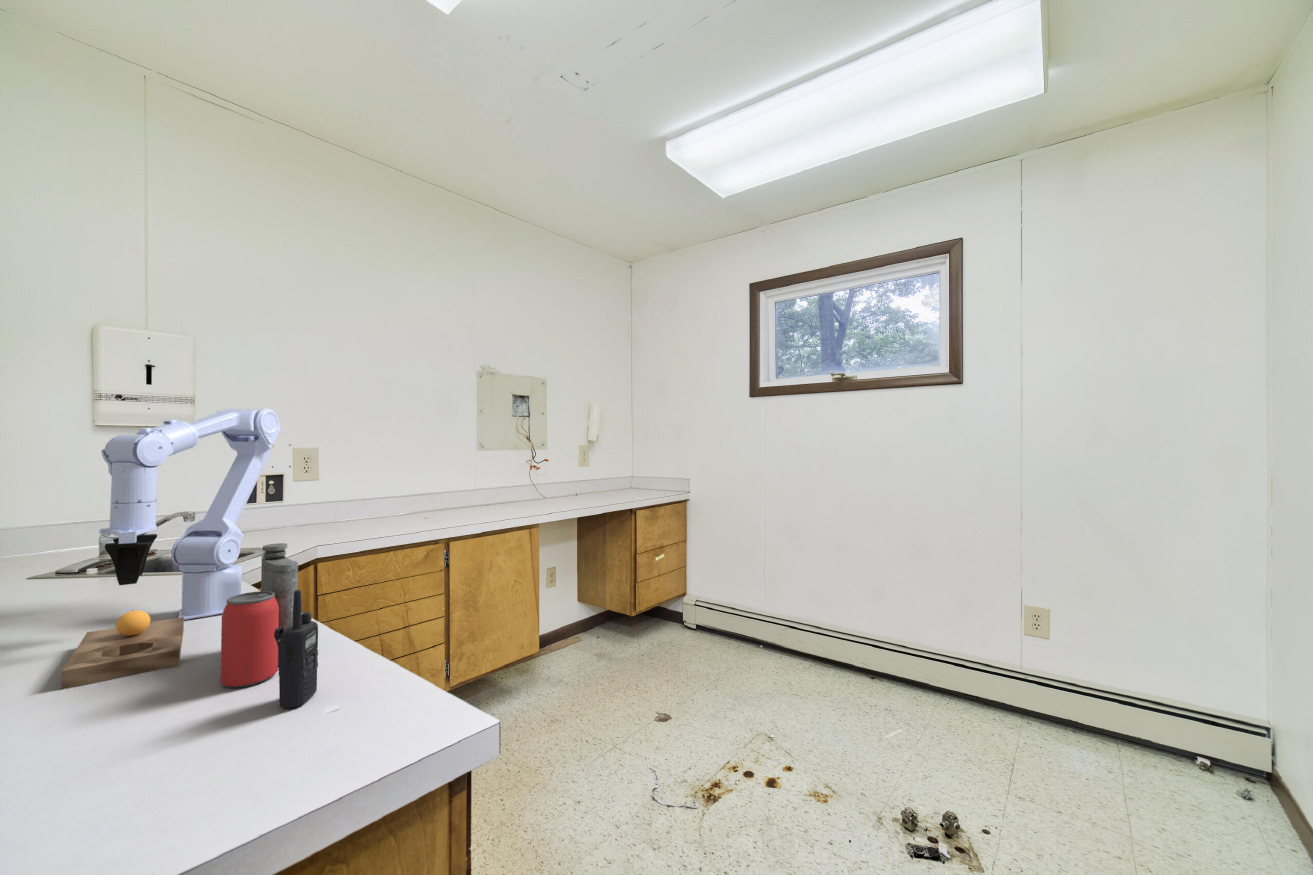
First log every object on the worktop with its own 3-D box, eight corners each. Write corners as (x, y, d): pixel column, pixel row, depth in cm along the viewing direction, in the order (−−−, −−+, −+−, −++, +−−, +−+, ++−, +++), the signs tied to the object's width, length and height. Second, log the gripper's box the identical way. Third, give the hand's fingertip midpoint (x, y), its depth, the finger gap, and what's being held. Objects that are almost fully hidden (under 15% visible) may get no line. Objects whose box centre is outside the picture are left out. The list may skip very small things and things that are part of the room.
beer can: (287, 674, 77) (289, 593, 77) (236, 693, 71) (238, 605, 71) (261, 666, 79) (263, 587, 80) (210, 684, 73) (211, 599, 74)
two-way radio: (300, 710, 66) (302, 592, 67) (262, 712, 66) (264, 594, 66) (321, 690, 72) (323, 581, 72) (286, 692, 71) (288, 582, 71)
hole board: (183, 630, 95) (183, 616, 95) (178, 665, 80) (179, 649, 80) (86, 646, 87) (87, 632, 87) (61, 689, 72) (61, 671, 72)
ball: (151, 629, 88) (151, 605, 88) (149, 635, 85) (149, 611, 85) (117, 634, 86) (118, 610, 86) (114, 641, 83) (114, 616, 83)
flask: (269, 672, 77) (271, 551, 78) (253, 646, 87) (255, 539, 88) (298, 665, 80) (300, 548, 80) (280, 640, 90) (281, 537, 90)
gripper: (107, 500, 94) (104, 575, 93) (93, 506, 83) (89, 592, 82) (161, 498, 98) (158, 570, 98) (154, 504, 87) (151, 585, 87)
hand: (130, 580), depth 90 cm, fingers open, 7 cm apart
